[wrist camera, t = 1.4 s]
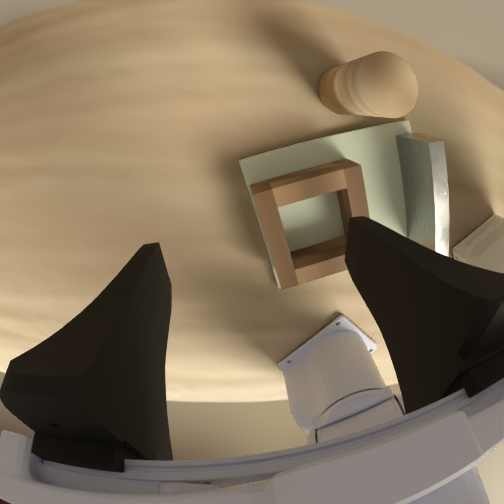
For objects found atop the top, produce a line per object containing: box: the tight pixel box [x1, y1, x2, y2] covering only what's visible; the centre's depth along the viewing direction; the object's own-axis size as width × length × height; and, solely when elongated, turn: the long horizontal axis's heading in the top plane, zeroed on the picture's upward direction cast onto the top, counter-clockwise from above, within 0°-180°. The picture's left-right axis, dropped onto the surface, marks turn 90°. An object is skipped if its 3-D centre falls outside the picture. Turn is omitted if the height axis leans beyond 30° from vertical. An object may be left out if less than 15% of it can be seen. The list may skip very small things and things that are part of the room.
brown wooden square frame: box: [250, 158, 370, 289], centre depth 23 cm, size 8×8×3 cm
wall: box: [395, 133, 449, 257], centre depth 22 cm, size 2×10×5 cm, turn 16°
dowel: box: [318, 52, 418, 118], centre depth 17 cm, size 4×4×8 cm
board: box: [239, 120, 412, 289], centre depth 24 cm, size 15×12×1 cm
